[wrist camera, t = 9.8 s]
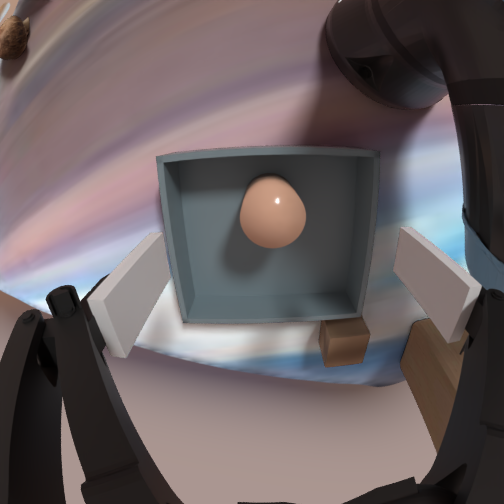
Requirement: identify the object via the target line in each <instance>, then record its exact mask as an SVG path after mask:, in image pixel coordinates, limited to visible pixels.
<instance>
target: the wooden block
mask: <svg viewBox="0 0 504 504" xmlns="http://www.w3.org/2000/svg"><path fill="white" fill-rule="evenodd" d="M468 335H469V333H468V332H467V331H466V329H465V330H464V332H463V335H462V337H461V339H460V340H459V341H456V342H452V343H447V342H446V340H445V339H444V337H443V336H442V335H441V333H440V332H439V330H438V329H437V327H436V326H435V325H434V323H433V322H432V320H431V319H430V318H429V319H424V320H420V321H417V322H415V323H414V324H413V325H412V329H411V332H410V335H409V338H408V341H407V344H406V347H405V350H404V353H403V356H402V359H401V361H400V368H401V370H402V372H403V374H404V376H405V378H406V380H407V382H408V385H409V387H410V389H411V391H412V393H413V396H414V398H415V400H416V402H417V405H418V407H419V409H420V411H421V414H422V416H423V419H424V421H425V423H426V426H427V429H428V431H429V434H430V436H431V438H432V441H433V444H434V447H435V449H436V452H437V454H438V451H439V449H440V446H441V443H442V440H443V437H444V434H445V431H446V428H447V425H448V422H449V419H450V415H451V412H452V408H453V404H454V400H455V396H456V392H457V388H458V383H459V379H460V374H461V368H462V362H463V356H464V352H462V354H461V355H460V354H459V353H460V351H461V349H462V347H463V345H464V343H465V341H466V339H467V337H468Z"/></svg>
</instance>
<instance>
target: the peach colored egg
mask: <svg viewBox="0 0 504 504" xmlns="http://www.w3.org/2000/svg"><path fill="white" fill-rule="evenodd" d="M305 222H306V212H305V207H304V205H303V202H302V201H301V199H300V198H299V196H298V195H297V193H296V192H295V190H294V189H293V187H292V186H291V184H290V183H289V182H288V180H286V179H285V178H284V177H282V176H280V175H278V174H274V173H265V174H261V175H259V176H257V177H255V178H254V179H253V180H251V182H250V183H249V184H248V186H247V188H246V191H245V194H244V199H243V203H242V207H241V212H240V223H241V227H242V229H243V231H244V233H245V234H246V236H247V237H248V238H249V239H250V240H251V241H252V242H254V243H255V244H257V245H259V246H262V247H265V248H280V247H283V246H286V245H288V244H290V243H292V242H293V241H294V240H296V239H297V238H298V236H299V235H300V234H301V232H302V230H303V228H304V226H305Z"/></svg>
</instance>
